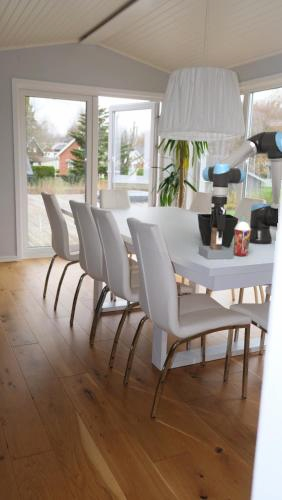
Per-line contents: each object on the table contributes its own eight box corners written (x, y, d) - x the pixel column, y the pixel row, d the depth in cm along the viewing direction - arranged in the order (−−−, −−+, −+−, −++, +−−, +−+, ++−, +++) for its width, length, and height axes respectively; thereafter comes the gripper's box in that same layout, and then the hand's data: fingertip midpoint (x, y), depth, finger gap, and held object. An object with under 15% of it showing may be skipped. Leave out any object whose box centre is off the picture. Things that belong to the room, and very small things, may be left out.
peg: (217, 255, 225) (219, 227, 222) (220, 257, 221) (222, 229, 218) (209, 255, 224) (211, 227, 221) (212, 257, 220) (214, 229, 217)
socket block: (222, 253, 230) (222, 245, 229) (232, 259, 217) (233, 251, 217) (198, 253, 227) (198, 245, 226) (207, 259, 215) (208, 251, 214)
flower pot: (202, 248, 241) (204, 217, 238) (195, 242, 259) (197, 213, 256) (236, 249, 243) (239, 218, 239) (227, 242, 261) (229, 214, 258)
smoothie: (251, 257, 223) (254, 217, 219) (234, 256, 222) (238, 217, 219) (246, 253, 231) (249, 215, 227) (230, 253, 231) (233, 215, 227)
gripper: (205, 194, 225) (202, 239, 229) (219, 197, 207) (216, 246, 211) (219, 194, 226) (216, 239, 231) (234, 197, 208) (230, 246, 213)
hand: (216, 242), depth 221 cm, fingers open, 6 cm apart
